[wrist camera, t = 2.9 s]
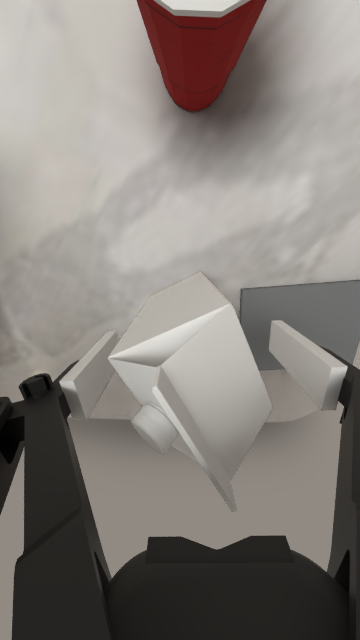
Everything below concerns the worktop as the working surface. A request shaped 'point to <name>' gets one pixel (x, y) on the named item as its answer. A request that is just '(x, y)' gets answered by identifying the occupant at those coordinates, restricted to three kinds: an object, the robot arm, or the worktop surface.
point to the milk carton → (194, 379)
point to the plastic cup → (198, 44)
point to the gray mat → (303, 317)
